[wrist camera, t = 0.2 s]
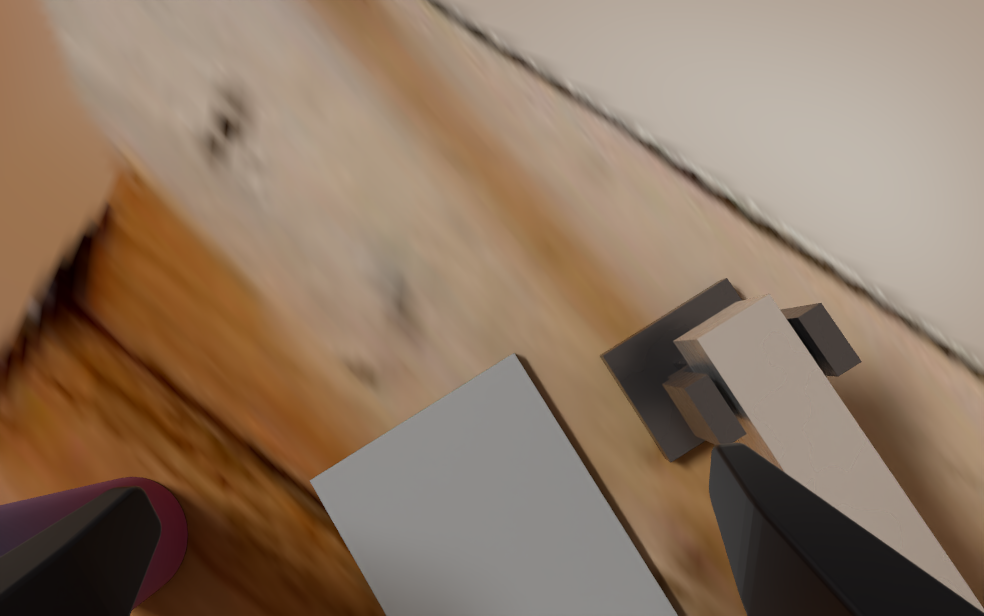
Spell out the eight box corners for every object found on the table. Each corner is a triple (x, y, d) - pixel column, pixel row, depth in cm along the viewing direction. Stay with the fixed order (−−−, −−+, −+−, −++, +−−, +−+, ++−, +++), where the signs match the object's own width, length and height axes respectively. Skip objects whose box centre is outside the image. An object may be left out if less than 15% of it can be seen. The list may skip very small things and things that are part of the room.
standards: (1074, 806, 21) (1359, 1038, 14) (942, 890, 21) (1160, 1166, 14) (719, 280, 24) (809, 248, 16) (599, 355, 23) (636, 356, 16)
